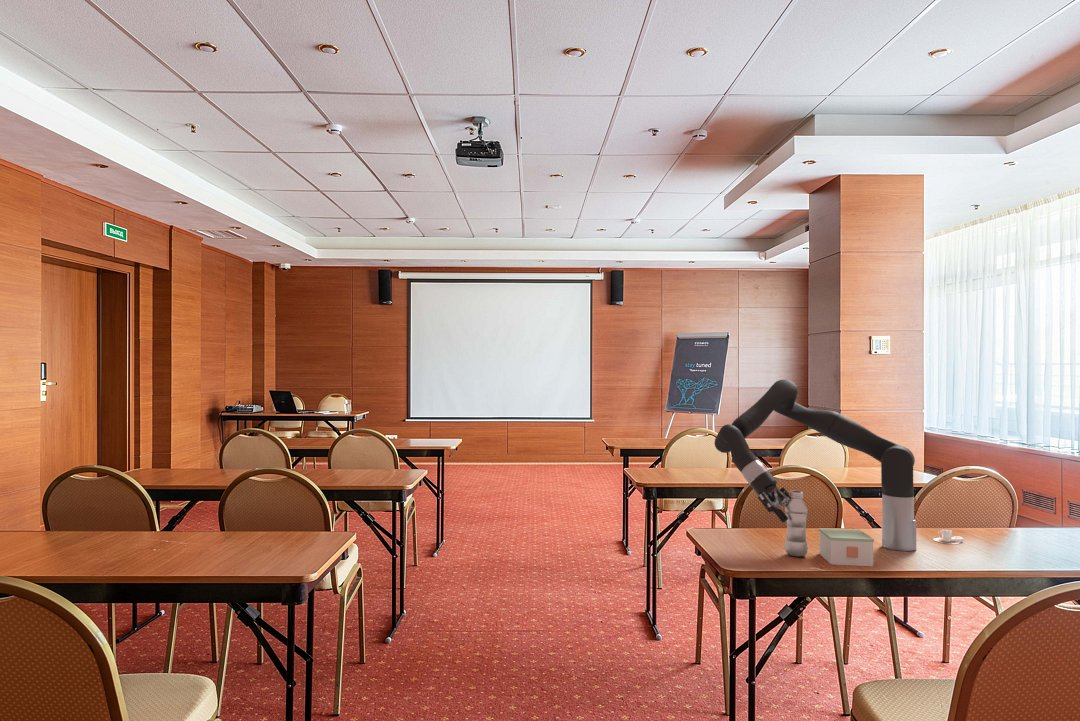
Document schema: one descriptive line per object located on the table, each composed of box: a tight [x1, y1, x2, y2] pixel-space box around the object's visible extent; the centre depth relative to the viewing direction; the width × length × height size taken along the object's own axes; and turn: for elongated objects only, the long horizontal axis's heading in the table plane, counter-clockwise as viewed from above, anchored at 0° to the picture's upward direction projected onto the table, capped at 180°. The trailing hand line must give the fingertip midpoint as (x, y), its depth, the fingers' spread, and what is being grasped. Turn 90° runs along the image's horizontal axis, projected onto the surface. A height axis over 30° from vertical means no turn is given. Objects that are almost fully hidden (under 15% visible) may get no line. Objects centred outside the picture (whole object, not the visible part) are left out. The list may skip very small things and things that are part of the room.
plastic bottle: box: [784, 490, 809, 558], centre depth 209 cm, size 6×7×20 cm
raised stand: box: [818, 527, 875, 567], centre depth 205 cm, size 12×13×8 cm
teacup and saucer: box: [932, 529, 964, 545], centre depth 229 cm, size 9×8×4 cm
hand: (792, 518), depth 210 cm, fingers open, 8 cm apart
